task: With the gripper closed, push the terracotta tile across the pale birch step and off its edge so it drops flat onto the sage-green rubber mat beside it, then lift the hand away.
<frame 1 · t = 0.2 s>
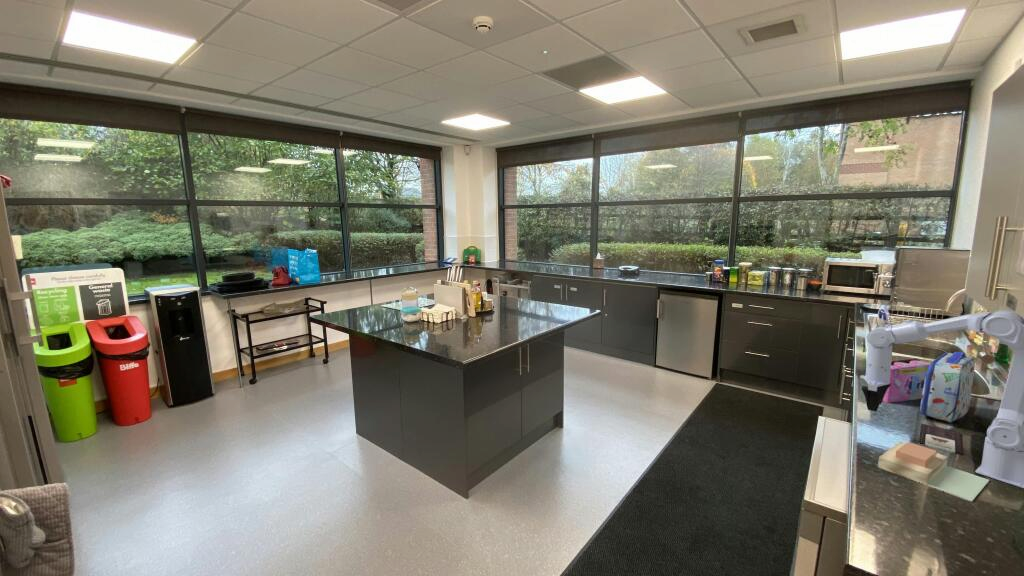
hand: (874, 406, 132), 10 cm above the countertop, tool pointing down, fingers open, 7 cm apart
gum box: (899, 397, 164), on the countertop
mat: (958, 483, 108), on the countertop
tile: (915, 457, 115), point 3 cm above the countertop, touching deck
chocolate bar: (939, 440, 131), on the countertop
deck: (912, 466, 116), on the countertop
lunch box: (944, 414, 149), on the countertop
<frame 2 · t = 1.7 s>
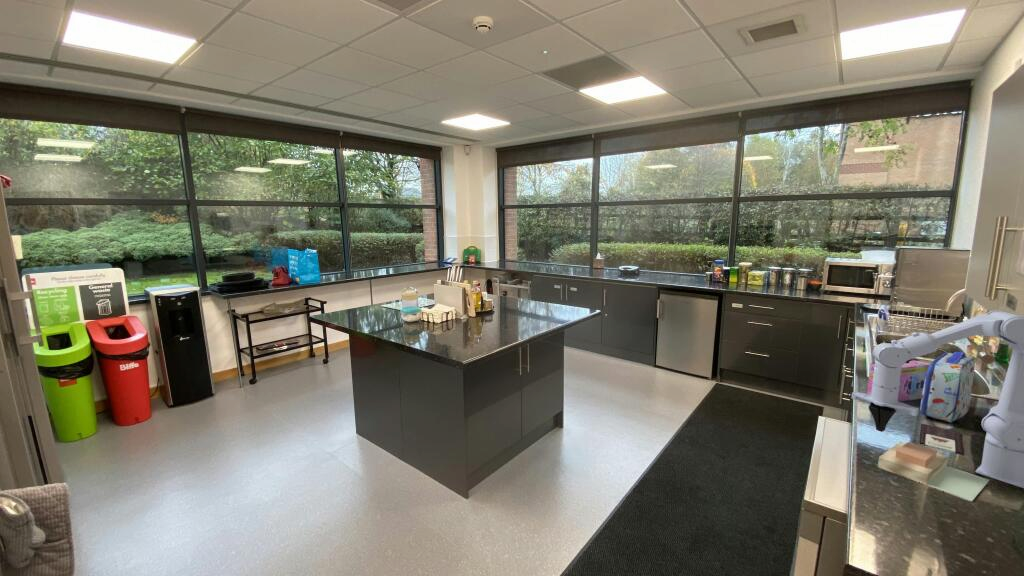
hand: (880, 430, 121), 8 cm above the countertop, tool pointing down, fingers closed
nothing on the countertop moved.
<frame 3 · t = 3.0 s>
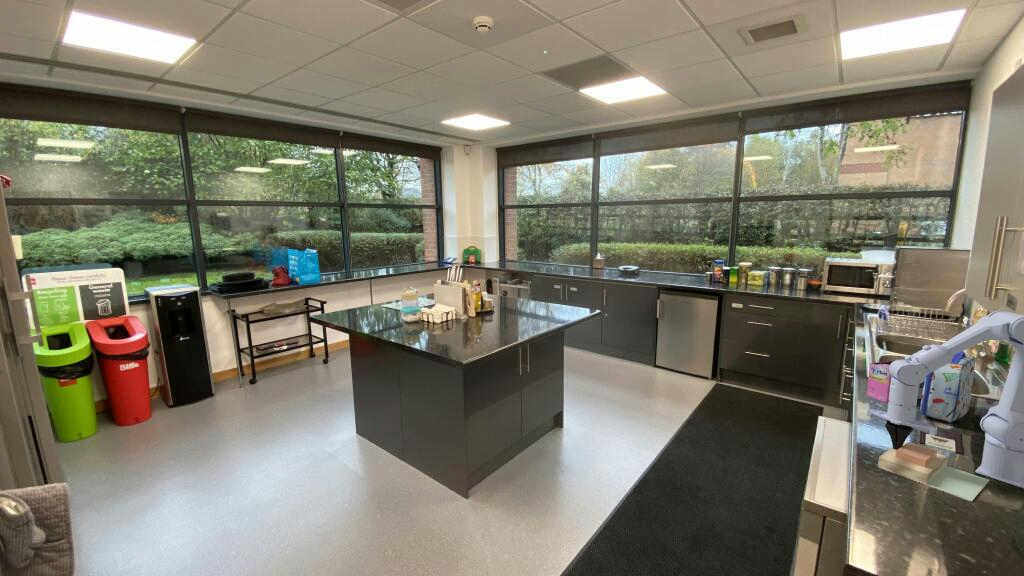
hand: (897, 448, 119), 4 cm above the countertop, tool pointing down, fingers closed
tile: (915, 457, 115), point 3 cm above the countertop, touching gripper
everything else where it was.
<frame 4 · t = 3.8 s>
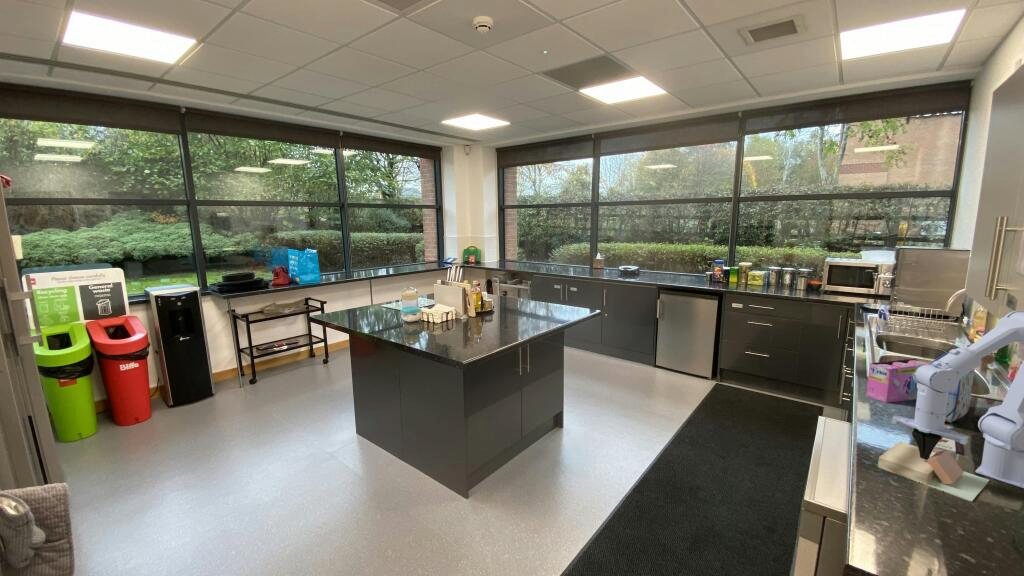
hand: (924, 457, 114), 4 cm above the countertop, tool pointing down, fingers closed
tile: (940, 467, 111), point 3 cm above the countertop, tilted 53°, touching mat
everything else where it was.
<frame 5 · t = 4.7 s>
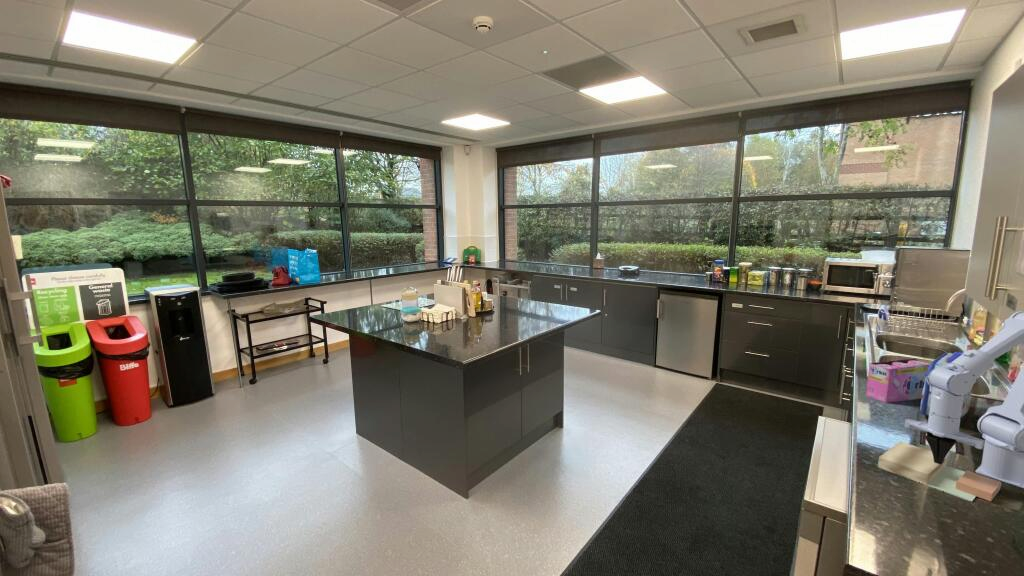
hand: (938, 462, 111), 4 cm above the countertop, tool pointing down, fingers closed
tile: (978, 481, 105), point 2 cm above the countertop, tilted 180°, touching mat
everything else where it was.
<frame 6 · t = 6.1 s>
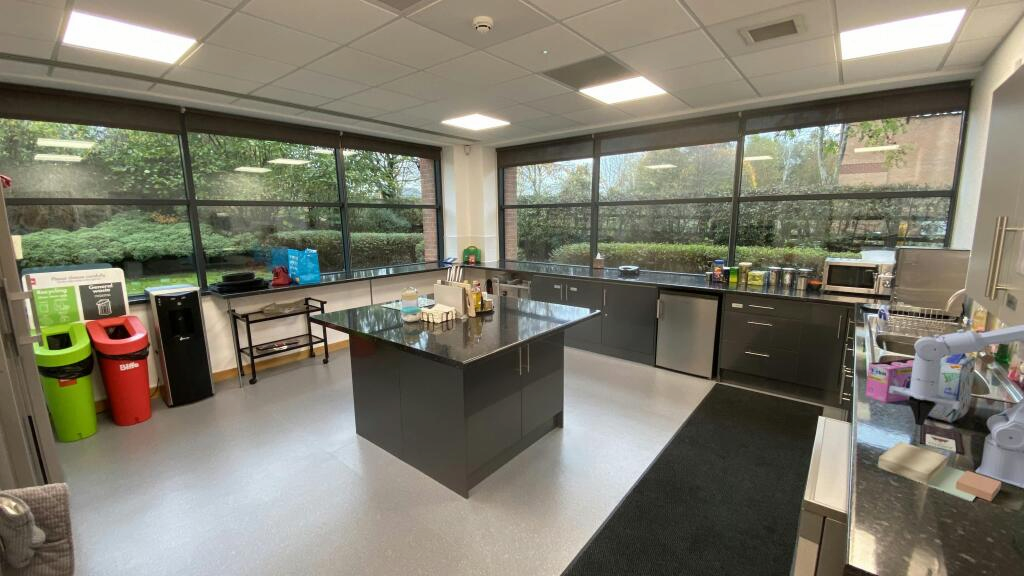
hand: (919, 424, 121), 9 cm above the countertop, tool pointing down, fingers closed
nothing on the countertop moved.
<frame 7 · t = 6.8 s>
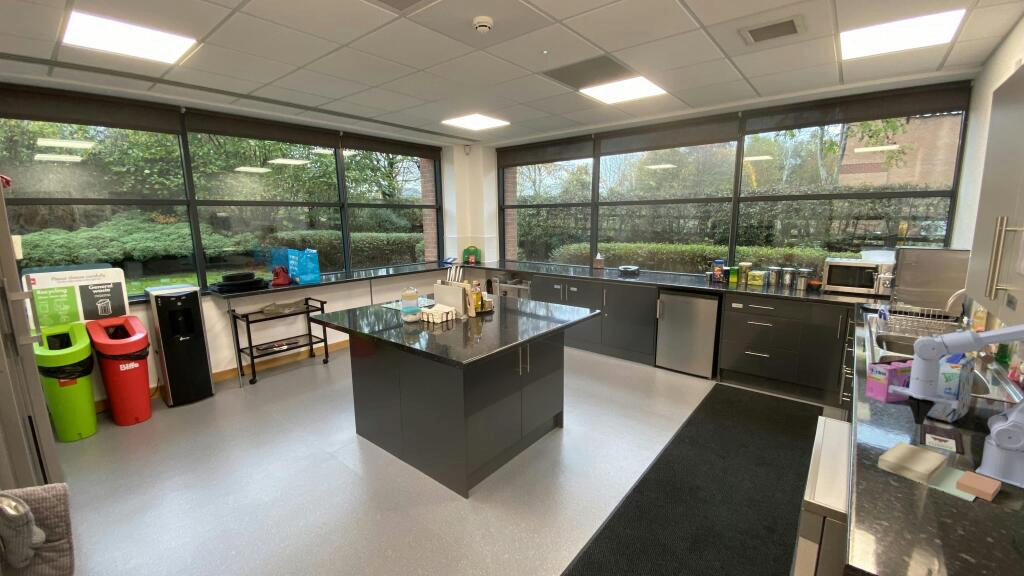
hand: (918, 423, 122), 9 cm above the countertop, tool pointing down, fingers closed
nothing on the countertop moved.
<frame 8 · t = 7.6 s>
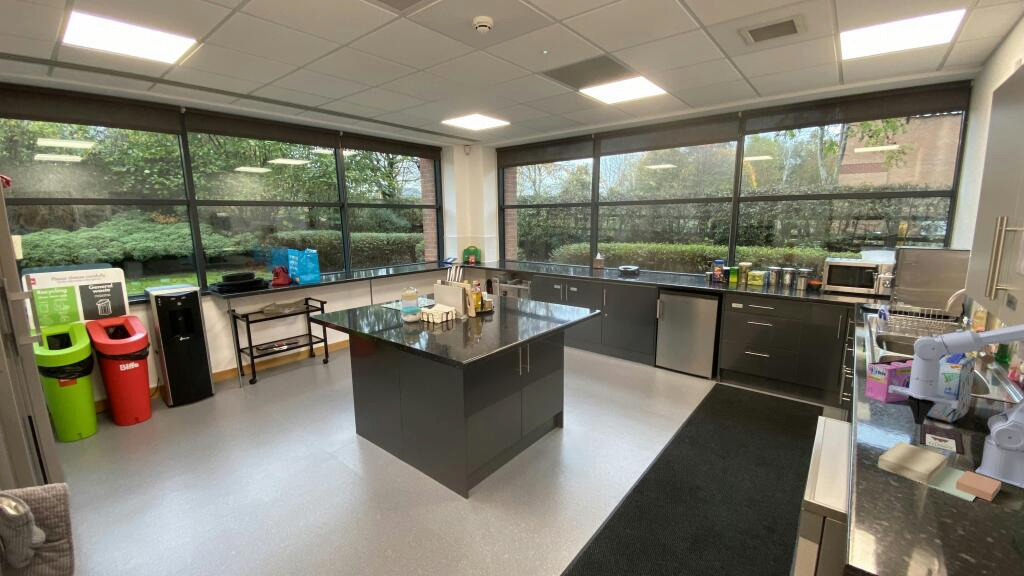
hand: (918, 423, 122), 9 cm above the countertop, tool pointing down, fingers closed
nothing on the countertop moved.
at the end: tile inside the target area (3.5 cm from its centre), point 2.3 cm above the countertop; tile moved 12.0 cm from its start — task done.
